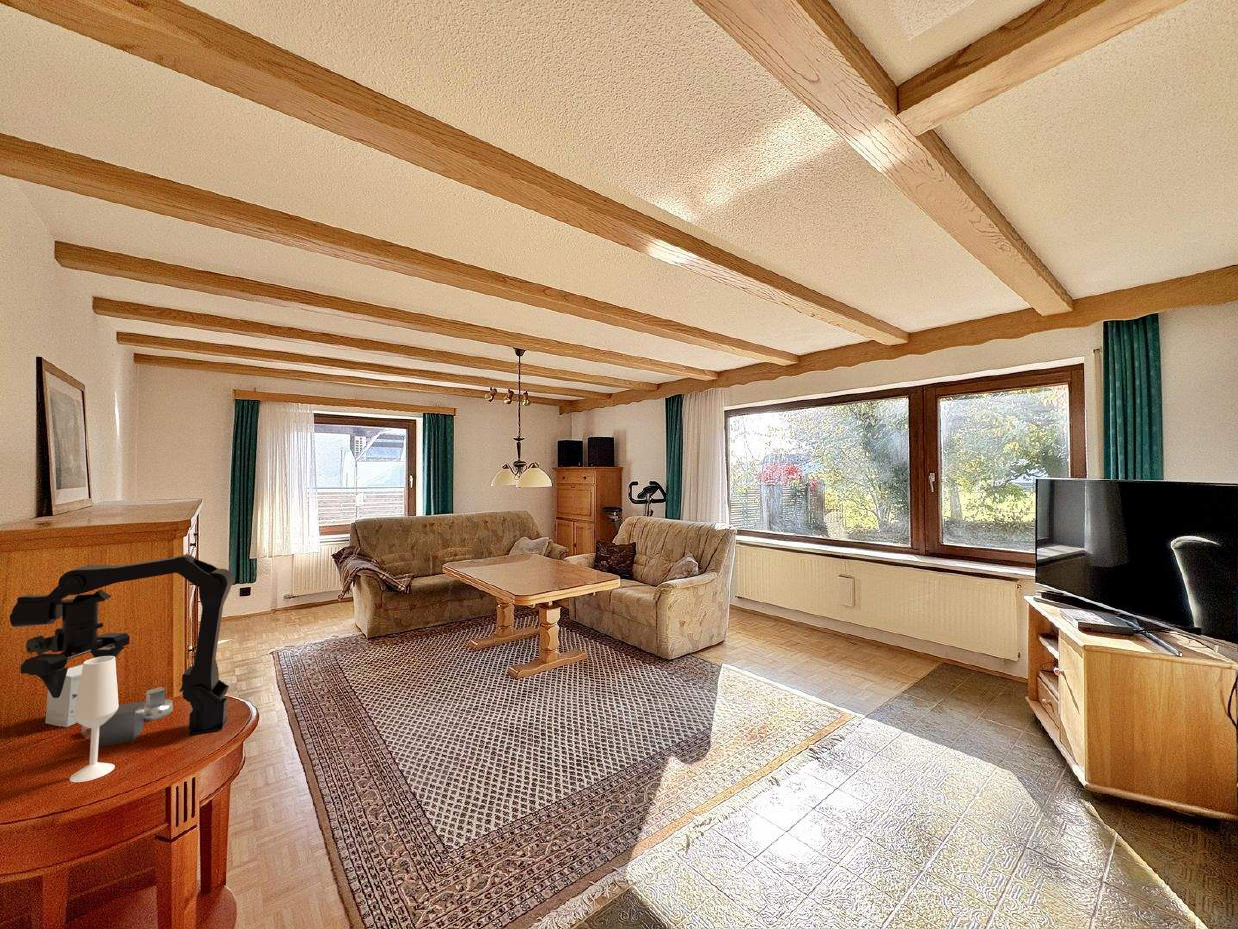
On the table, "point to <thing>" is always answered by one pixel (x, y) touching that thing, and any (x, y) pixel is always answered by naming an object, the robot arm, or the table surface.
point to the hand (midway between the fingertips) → (78, 688)
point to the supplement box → (64, 700)
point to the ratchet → (148, 708)
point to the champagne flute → (96, 709)
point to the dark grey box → (123, 724)
